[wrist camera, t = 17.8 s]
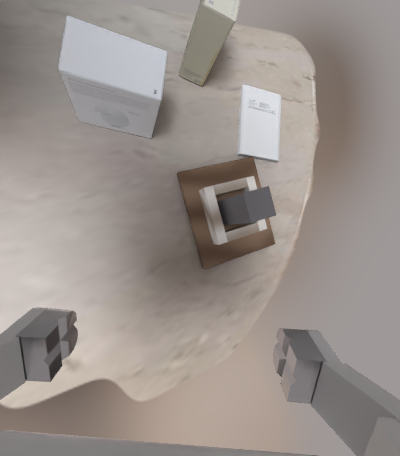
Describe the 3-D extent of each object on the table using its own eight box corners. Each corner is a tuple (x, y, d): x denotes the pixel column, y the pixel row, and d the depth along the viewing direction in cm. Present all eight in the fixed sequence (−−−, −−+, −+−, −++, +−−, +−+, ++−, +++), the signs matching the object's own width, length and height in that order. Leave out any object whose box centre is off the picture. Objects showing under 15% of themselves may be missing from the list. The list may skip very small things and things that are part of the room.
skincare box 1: (156, 99, 36) (169, 48, 26) (151, 139, 36) (162, 103, 26) (83, 77, 33) (65, 10, 23) (77, 121, 32) (56, 72, 22)
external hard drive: (235, 156, 41) (239, 88, 41) (274, 163, 43) (277, 99, 44) (239, 153, 39) (243, 83, 40) (279, 160, 42) (282, 94, 42)
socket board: (176, 173, 37) (182, 168, 33) (250, 158, 41) (261, 151, 38) (203, 268, 38) (210, 271, 34) (271, 243, 42) (284, 244, 39)
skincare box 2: (202, 87, 38) (236, 25, 27) (177, 75, 37) (201, 4, 25) (210, 53, 39) (247, -22, 27) (186, 41, 38) (213, -44, 26)
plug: (216, 201, 38) (243, 192, 29) (236, 196, 39) (268, 186, 30) (222, 225, 38) (251, 223, 29) (242, 218, 39) (276, 215, 31)
